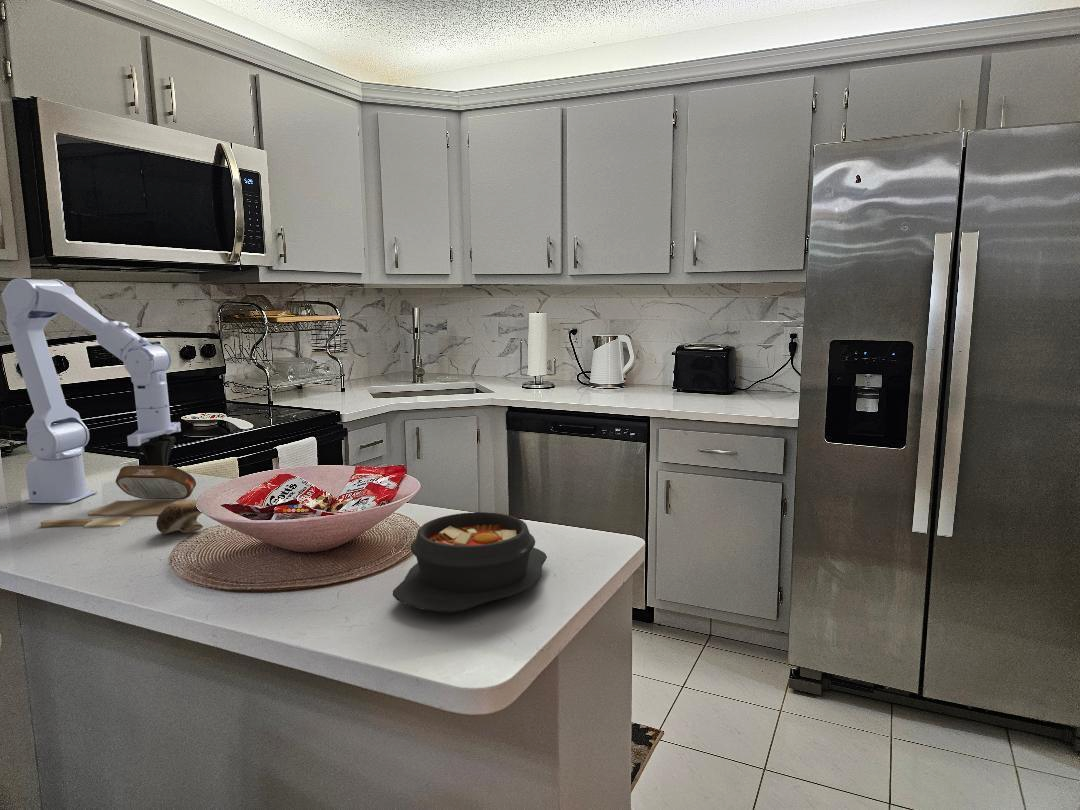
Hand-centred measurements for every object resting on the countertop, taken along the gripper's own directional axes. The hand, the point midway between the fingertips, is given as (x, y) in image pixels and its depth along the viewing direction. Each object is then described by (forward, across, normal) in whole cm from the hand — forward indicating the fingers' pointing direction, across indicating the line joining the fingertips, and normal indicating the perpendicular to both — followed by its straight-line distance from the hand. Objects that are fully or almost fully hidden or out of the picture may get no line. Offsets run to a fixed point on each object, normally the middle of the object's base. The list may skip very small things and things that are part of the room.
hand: (159, 474), depth 141 cm
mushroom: (+6, -19, -15) cm, 25 cm away
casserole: (+6, -40, -69) cm, 80 cm away
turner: (+5, -15, +5) cm, 16 cm away
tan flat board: (+5, -6, 0) cm, 8 cm away
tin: (+5, +1, 0) cm, 5 cm away
